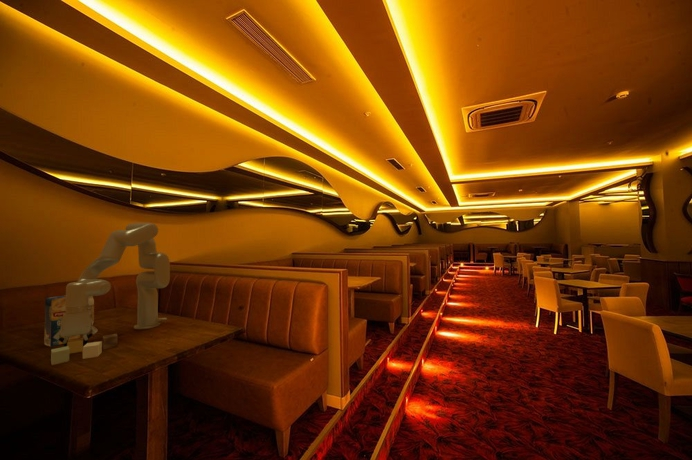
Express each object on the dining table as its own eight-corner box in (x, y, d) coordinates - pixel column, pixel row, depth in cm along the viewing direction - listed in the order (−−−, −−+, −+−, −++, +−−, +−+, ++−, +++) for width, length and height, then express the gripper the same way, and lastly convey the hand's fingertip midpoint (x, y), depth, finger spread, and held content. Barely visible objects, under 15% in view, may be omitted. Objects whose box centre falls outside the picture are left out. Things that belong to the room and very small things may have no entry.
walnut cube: (116, 343, 136) (116, 333, 136) (117, 346, 132) (117, 335, 132) (102, 346, 132) (102, 335, 133) (103, 349, 129) (103, 338, 129)
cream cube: (101, 352, 125) (101, 341, 126) (97, 356, 121) (98, 345, 121) (87, 354, 123) (87, 343, 123) (82, 359, 119) (82, 347, 119)
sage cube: (67, 357, 120) (68, 346, 120) (69, 361, 117) (69, 349, 117) (50, 361, 116) (51, 349, 116) (51, 365, 113) (52, 352, 113)
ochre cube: (84, 347, 131) (84, 337, 131) (82, 351, 127) (82, 340, 127) (69, 350, 128) (70, 339, 128) (66, 354, 124) (67, 342, 124)
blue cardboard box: (80, 339, 142) (81, 295, 143) (50, 346, 132) (51, 299, 133) (73, 337, 145) (74, 294, 146) (43, 344, 135) (45, 298, 136)
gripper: (102, 305, 136) (102, 343, 135) (53, 310, 126) (51, 351, 126) (100, 308, 129) (99, 348, 129) (47, 314, 120) (46, 357, 119)
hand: (76, 349), depth 127 cm, fingers closed on ochre cube, 5 cm apart
